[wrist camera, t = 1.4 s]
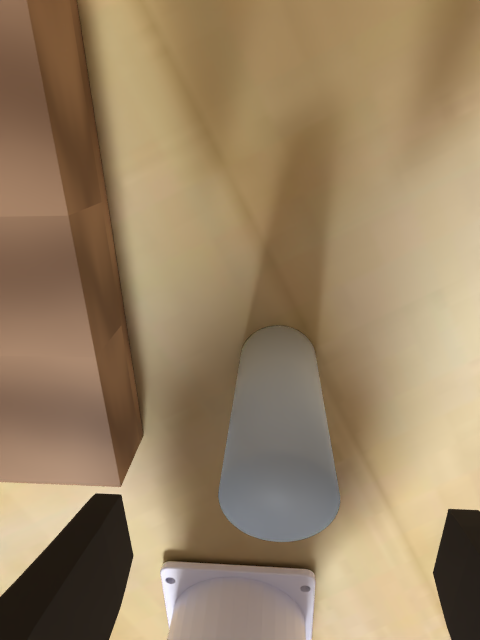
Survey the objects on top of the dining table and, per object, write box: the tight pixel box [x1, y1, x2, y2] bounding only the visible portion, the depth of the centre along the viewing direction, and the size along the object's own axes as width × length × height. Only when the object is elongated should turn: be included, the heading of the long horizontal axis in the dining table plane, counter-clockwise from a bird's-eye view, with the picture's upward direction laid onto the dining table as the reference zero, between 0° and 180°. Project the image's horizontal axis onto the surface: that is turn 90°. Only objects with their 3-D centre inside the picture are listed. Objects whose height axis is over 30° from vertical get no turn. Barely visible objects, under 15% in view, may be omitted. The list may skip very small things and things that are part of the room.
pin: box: [218, 326, 340, 542], centre depth 14 cm, size 3×3×7 cm
